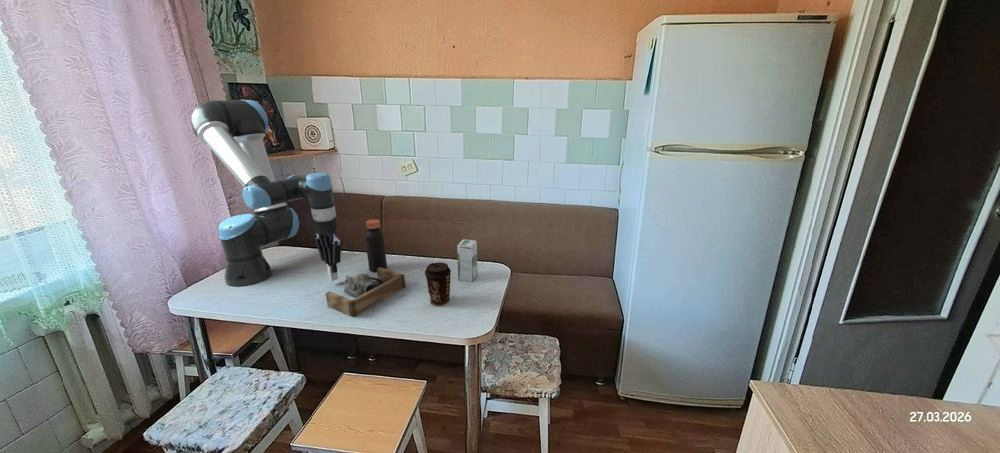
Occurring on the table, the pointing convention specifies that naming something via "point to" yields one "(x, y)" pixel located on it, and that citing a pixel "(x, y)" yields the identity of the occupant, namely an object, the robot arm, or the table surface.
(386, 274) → the bay
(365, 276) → the caster wheel
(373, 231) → the bottle
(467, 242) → the syrup box
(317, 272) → the table surface
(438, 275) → the coffee cup
